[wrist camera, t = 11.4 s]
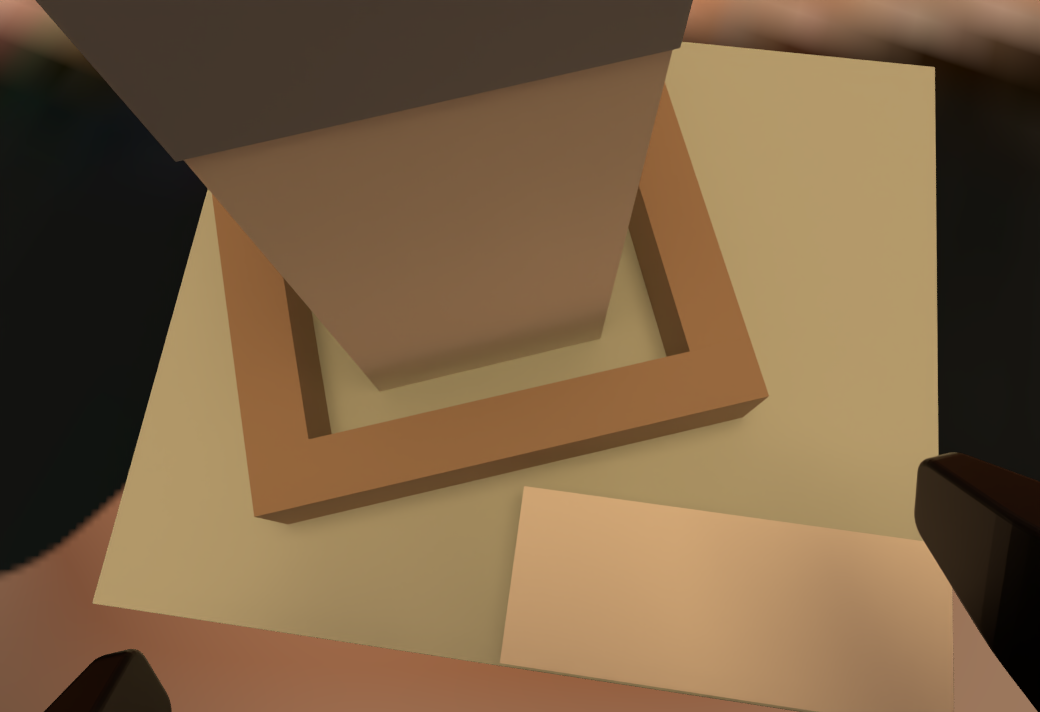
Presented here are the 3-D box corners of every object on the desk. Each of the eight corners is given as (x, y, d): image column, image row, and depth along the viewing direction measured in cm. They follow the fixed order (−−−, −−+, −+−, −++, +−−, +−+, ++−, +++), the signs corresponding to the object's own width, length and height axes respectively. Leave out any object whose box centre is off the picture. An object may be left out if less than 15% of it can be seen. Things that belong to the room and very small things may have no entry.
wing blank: (914, 717, 15) (954, 732, 13) (503, 655, 15) (499, 663, 14) (913, 548, 16) (952, 545, 14) (525, 494, 16) (524, 485, 15)
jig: (911, 721, 16) (1000, 756, 13) (122, 601, 17) (30, 606, 14) (912, 96, 20) (979, 9, 17) (276, 31, 21) (230, -63, 18)
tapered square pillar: (603, 340, 17) (932, -917, 3) (378, 394, 17) (-543, -664, 3) (546, 143, 19) (570, -1369, 4) (338, 191, 18) (-400, -1230, 4)
